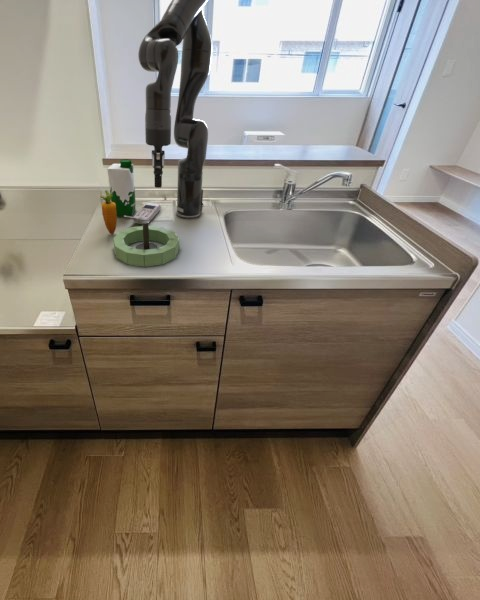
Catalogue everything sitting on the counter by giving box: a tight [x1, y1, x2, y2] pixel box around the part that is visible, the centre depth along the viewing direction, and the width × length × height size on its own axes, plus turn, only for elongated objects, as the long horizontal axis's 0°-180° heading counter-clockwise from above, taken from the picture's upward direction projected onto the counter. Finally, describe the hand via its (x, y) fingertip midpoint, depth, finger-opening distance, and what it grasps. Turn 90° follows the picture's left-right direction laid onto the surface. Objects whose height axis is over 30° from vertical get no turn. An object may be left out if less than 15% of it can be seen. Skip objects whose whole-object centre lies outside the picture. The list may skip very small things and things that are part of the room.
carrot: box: [99, 189, 118, 236], centre depth 105 cm, size 5×5×15 cm
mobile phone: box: [123, 202, 162, 225], centre depth 119 cm, size 6×6×25 cm
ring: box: [112, 225, 180, 268], centre depth 100 cm, size 20×20×4 cm
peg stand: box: [135, 221, 159, 250], centre depth 98 cm, size 7×7×10 cm
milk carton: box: [106, 158, 136, 218], centre depth 119 cm, size 9×9×20 cm
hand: (158, 183), depth 102 cm, fingers open, 8 cm apart
